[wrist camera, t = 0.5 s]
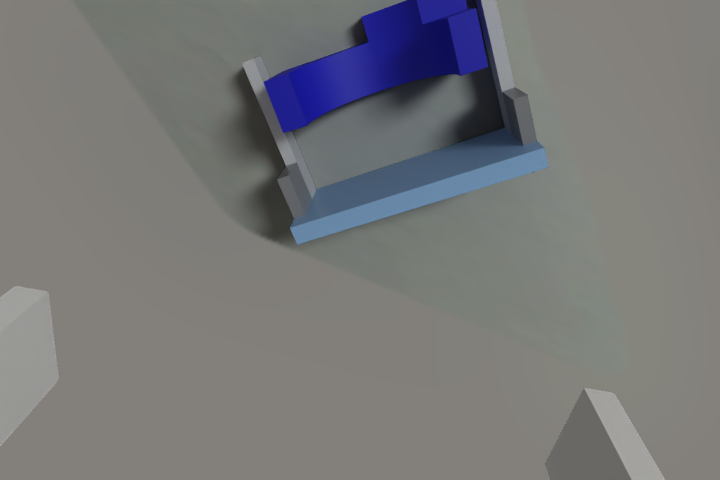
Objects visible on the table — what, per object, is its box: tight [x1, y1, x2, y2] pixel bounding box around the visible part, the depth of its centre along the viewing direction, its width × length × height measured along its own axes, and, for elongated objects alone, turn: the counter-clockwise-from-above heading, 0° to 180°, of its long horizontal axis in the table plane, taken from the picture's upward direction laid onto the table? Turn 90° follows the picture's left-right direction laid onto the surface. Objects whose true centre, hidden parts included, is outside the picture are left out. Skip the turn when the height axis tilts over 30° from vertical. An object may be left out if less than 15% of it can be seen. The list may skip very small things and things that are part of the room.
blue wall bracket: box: [242, 0, 548, 244], centre depth 30 cm, size 11×16×6 cm
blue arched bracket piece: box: [263, 0, 488, 133], centre depth 29 cm, size 12×4×6 cm, turn 108°
